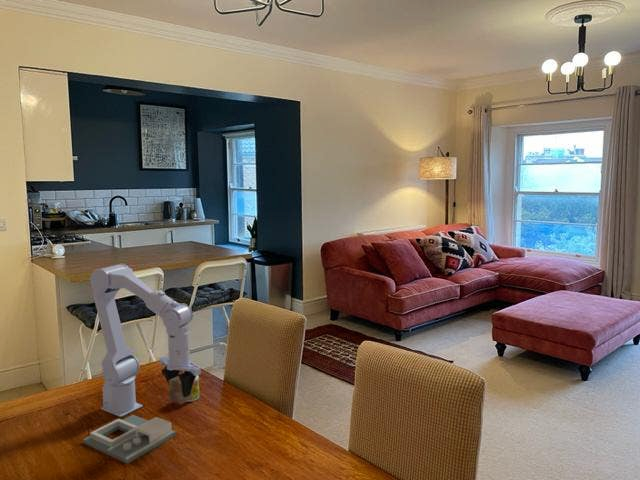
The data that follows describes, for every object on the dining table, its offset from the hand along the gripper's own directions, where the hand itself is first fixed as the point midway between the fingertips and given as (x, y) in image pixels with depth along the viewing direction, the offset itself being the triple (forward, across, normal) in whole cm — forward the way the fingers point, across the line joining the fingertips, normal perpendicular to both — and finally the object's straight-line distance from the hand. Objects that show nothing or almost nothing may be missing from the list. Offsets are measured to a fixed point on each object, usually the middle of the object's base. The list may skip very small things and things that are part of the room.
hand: (180, 393), depth 144 cm
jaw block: (+2, 0, 0) cm, 2 cm away
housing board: (+9, -5, -13) cm, 17 cm away
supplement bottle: (+9, -9, +13) cm, 18 cm away
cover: (+8, 0, -10) cm, 13 cm away
